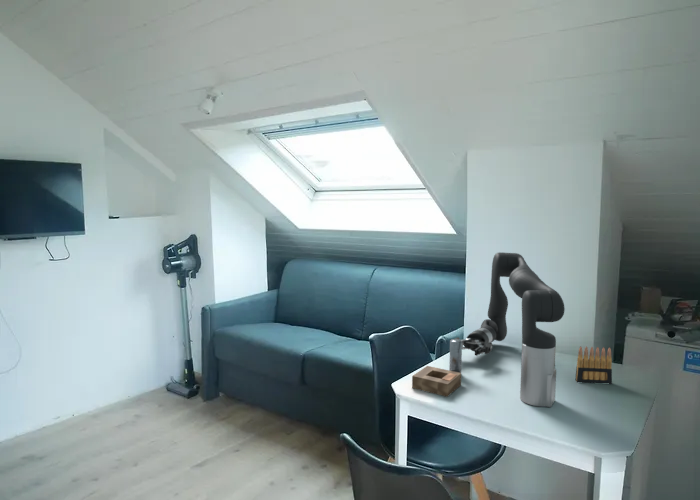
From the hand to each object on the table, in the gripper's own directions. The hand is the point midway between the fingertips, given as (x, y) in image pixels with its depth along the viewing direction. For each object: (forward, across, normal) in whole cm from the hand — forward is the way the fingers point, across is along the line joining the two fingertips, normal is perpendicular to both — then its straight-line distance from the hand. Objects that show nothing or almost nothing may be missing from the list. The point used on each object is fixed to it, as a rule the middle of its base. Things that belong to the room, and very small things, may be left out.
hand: (464, 350), depth 165 cm
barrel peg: (+8, 0, +6) cm, 10 cm away
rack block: (+20, -1, +6) cm, 22 cm away
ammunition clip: (-12, +40, +7) cm, 42 cm away
